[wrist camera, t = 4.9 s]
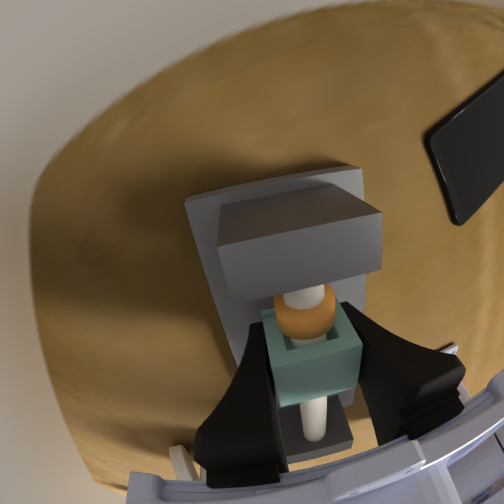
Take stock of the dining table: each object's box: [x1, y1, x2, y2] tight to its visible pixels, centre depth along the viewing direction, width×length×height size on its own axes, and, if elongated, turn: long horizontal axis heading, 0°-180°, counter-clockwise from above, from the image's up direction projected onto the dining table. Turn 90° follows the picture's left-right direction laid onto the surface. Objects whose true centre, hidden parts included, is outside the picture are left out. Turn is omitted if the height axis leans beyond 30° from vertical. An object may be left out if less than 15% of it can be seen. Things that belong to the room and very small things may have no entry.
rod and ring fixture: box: [184, 165, 382, 464], centre depth 14 cm, size 19×8×6 cm, turn 11°
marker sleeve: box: [261, 296, 363, 407], centre depth 12 cm, size 3×4×4 cm
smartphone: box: [424, 71, 504, 226], centre depth 11 cm, size 7×1×15 cm
